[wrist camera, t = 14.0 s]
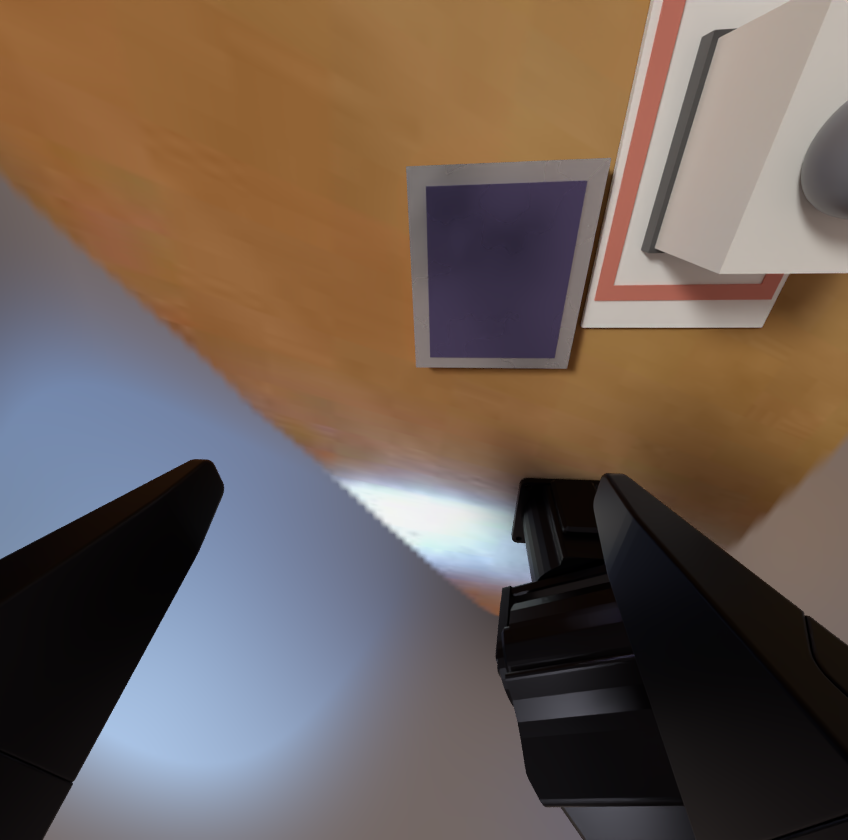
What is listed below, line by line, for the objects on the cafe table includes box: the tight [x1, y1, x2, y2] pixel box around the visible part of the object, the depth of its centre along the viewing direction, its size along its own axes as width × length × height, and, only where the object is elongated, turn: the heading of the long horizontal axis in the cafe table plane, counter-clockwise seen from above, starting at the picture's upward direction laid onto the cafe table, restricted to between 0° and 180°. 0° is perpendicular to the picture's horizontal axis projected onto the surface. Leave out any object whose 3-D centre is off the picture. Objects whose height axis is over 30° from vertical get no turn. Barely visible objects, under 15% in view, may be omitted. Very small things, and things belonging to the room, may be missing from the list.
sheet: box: [580, 0, 791, 328], centre depth 14 cm, size 14×9×1 cm, turn 2°
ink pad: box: [406, 158, 611, 369], centre depth 17 cm, size 9×8×2 cm
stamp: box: [641, 0, 848, 274], centre depth 11 cm, size 5×7×8 cm
